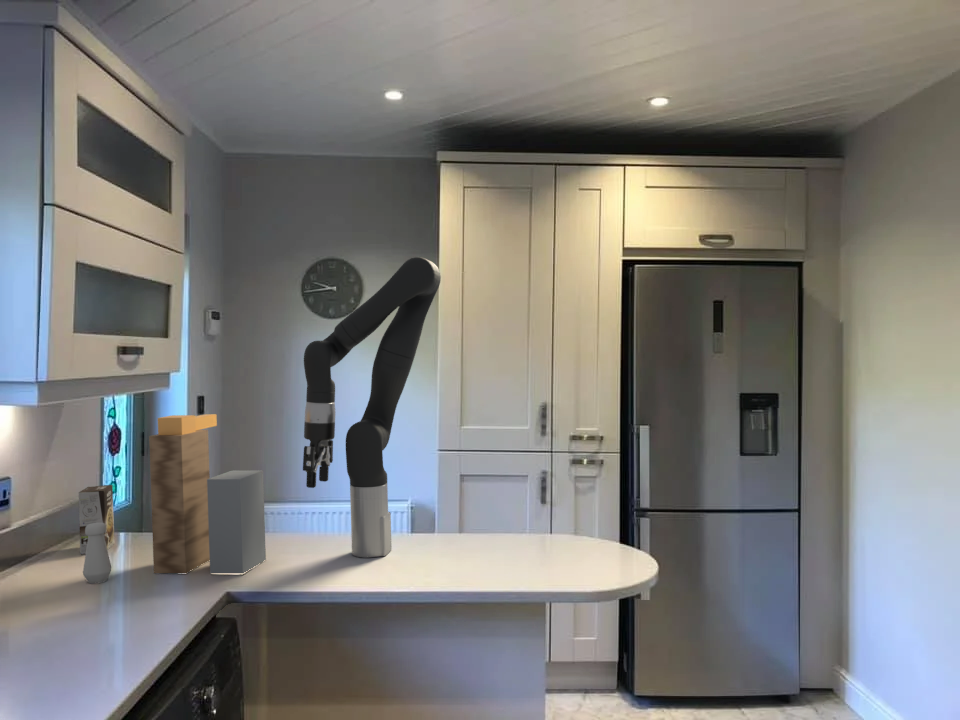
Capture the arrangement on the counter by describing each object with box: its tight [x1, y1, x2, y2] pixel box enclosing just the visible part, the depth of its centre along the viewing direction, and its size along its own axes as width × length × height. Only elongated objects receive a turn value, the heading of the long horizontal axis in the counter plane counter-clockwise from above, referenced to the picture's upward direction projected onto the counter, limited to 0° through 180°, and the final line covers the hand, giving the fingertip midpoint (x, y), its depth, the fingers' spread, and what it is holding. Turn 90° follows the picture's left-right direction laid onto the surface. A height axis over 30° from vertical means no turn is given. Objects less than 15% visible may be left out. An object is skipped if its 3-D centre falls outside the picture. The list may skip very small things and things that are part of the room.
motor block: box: [207, 469, 267, 574], centre depth 175 cm, size 8×12×22 cm, turn 171°
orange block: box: [157, 413, 218, 435], centre depth 183 cm, size 6×19×4 cm, turn 171°
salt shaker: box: [82, 523, 112, 585], centre depth 168 cm, size 6×6×13 cm
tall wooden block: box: [148, 429, 211, 574], centre depth 177 cm, size 8×12×32 cm, turn 171°
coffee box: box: [78, 484, 115, 555], centre depth 195 cm, size 9×6×16 cm
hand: (317, 484), depth 187 cm, fingers open, 8 cm apart
